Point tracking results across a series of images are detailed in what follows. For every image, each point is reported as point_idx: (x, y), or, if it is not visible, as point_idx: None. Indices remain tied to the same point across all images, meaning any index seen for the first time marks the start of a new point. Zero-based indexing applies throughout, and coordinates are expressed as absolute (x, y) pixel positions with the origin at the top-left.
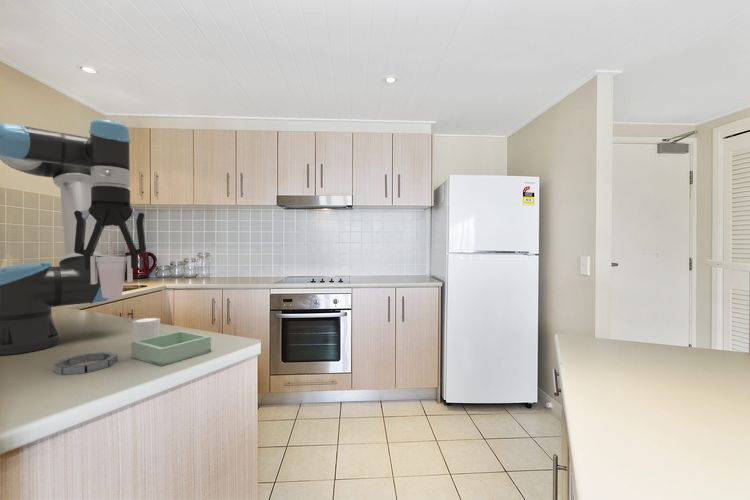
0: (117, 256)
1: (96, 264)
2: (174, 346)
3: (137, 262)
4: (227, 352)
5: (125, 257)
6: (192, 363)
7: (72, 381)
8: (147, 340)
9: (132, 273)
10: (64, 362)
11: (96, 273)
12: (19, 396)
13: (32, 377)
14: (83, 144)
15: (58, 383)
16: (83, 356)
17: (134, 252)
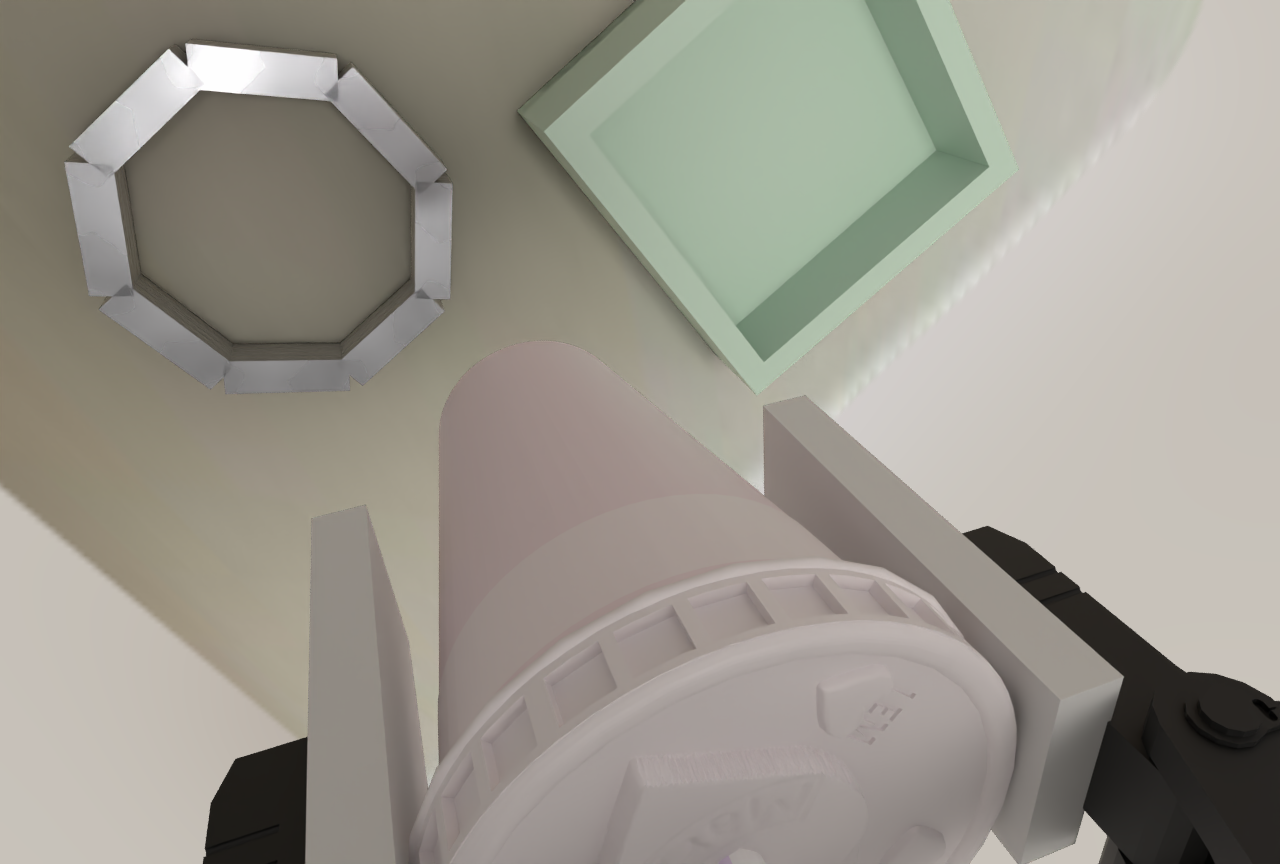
0: (854, 840)
1: (406, 804)
2: (818, 339)
3: (1072, 605)
4: (1018, 200)
5: (974, 840)
6: (849, 347)
7: (354, 483)
8: (639, 82)
9: (873, 471)
10: (127, 241)
11: (394, 668)
12: (216, 617)
13: (45, 377)
14: None
15: (295, 497)
16: (179, 106)
17: None
